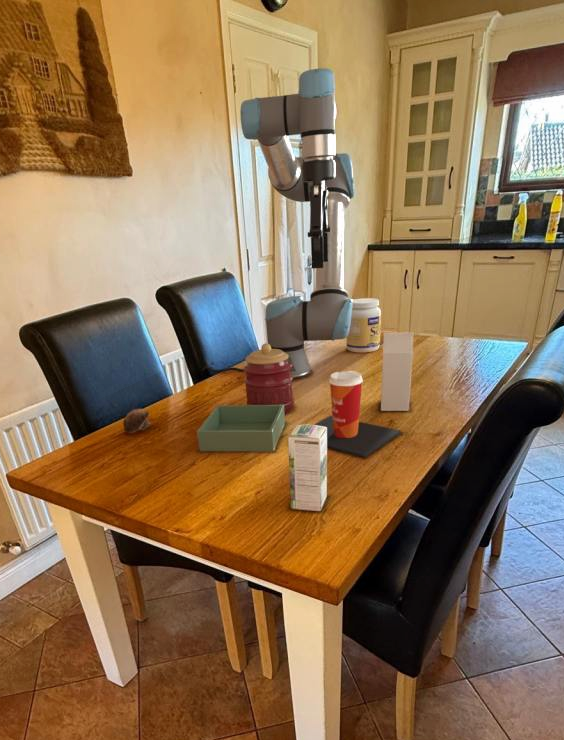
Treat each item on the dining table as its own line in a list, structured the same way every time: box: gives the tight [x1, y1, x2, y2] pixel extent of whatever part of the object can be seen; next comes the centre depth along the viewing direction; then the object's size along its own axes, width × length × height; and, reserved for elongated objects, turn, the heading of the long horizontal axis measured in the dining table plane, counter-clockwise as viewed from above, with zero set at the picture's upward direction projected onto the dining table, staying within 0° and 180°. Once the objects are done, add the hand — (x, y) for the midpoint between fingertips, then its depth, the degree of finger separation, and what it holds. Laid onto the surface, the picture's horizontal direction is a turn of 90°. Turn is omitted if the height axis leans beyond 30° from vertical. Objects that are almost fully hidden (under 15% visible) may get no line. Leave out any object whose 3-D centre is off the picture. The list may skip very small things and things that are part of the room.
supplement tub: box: [345, 297, 382, 354], centre depth 185 cm, size 12×12×17 cm
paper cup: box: [328, 370, 364, 438], centre depth 118 cm, size 8×8×14 cm
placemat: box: [313, 415, 401, 459], centre depth 122 cm, size 20×16×1 cm
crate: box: [196, 404, 286, 453], centre depth 125 cm, size 18×18×5 cm
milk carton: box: [380, 331, 414, 412], centre depth 131 cm, size 7×7×19 cm
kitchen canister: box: [242, 342, 295, 414], centre depth 137 cm, size 13×13×18 cm
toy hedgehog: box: [122, 408, 153, 434], centre depth 133 cm, size 8×8×6 cm
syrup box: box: [287, 424, 328, 512], centre depth 92 cm, size 6×6×14 cm
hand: (320, 265), depth 126 cm, fingers open, 13 cm apart
